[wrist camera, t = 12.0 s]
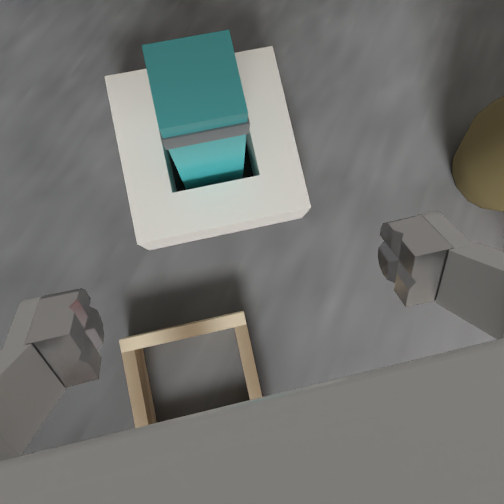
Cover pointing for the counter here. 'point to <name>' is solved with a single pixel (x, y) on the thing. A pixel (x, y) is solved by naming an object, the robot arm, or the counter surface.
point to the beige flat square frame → (136, 343)
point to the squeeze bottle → (482, 159)
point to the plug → (199, 106)
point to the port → (217, 195)
